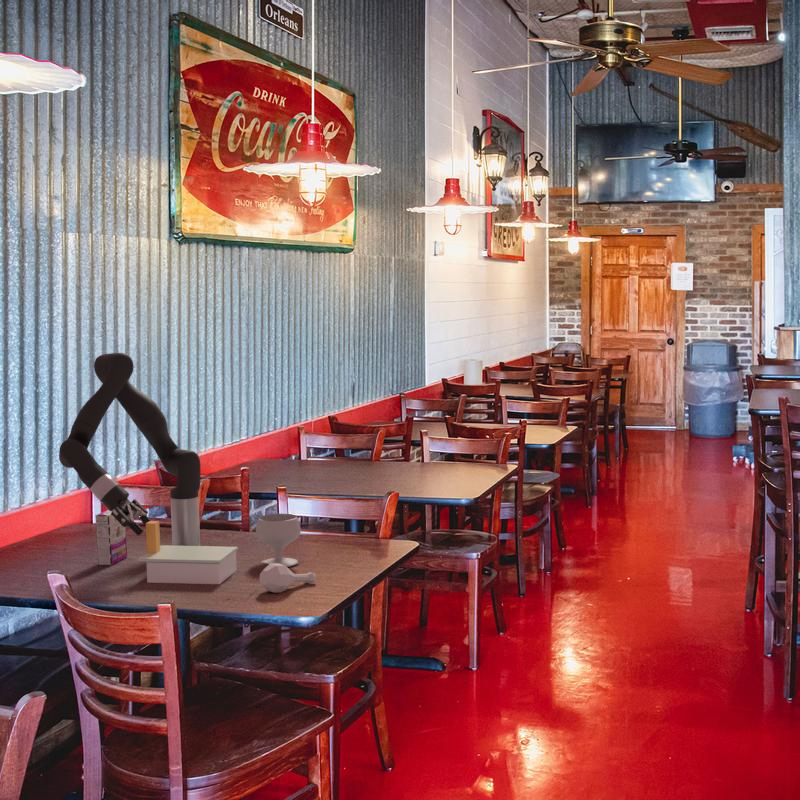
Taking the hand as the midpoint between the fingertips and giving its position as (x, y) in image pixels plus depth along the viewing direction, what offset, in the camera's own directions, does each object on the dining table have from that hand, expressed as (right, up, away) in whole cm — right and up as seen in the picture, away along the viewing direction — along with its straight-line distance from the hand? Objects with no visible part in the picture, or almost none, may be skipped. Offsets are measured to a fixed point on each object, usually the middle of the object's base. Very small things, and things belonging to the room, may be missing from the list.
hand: (147, 530), depth 309 cm
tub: (+14, -14, -1) cm, 20 cm away
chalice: (+38, -13, +16) cm, 43 cm away
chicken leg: (+44, -15, -12) cm, 48 cm away
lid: (+13, -7, -1) cm, 15 cm away
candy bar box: (-17, -13, +23) cm, 31 cm away
